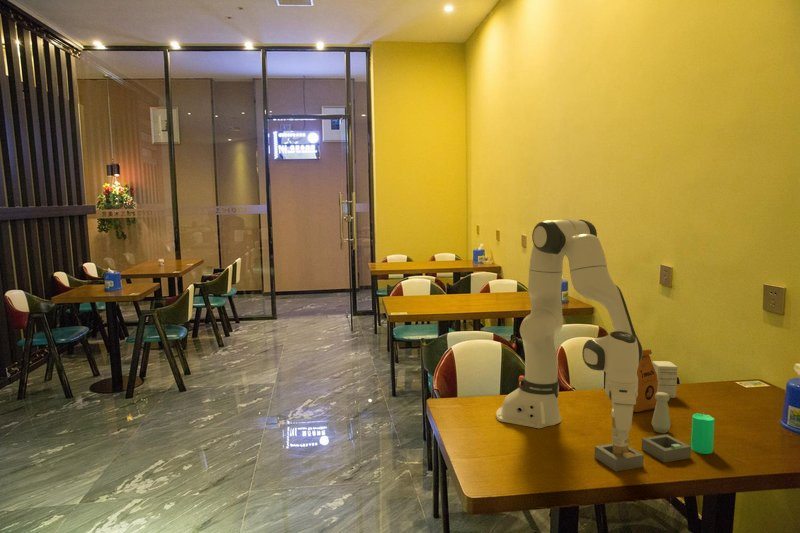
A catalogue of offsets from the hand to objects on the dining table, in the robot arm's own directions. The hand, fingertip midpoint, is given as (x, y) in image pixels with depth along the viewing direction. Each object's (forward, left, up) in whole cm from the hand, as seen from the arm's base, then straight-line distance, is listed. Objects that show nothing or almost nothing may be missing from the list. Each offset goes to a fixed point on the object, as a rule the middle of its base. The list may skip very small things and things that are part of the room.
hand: (620, 434), depth 165 cm
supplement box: (+21, +67, -9) cm, 71 cm away
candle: (+25, +16, -9) cm, 31 cm away
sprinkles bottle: (0, 0, -6) cm, 6 cm away
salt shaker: (+15, +28, -9) cm, 33 cm away
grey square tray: (+14, +10, -8) cm, 19 cm away
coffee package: (+10, +48, -9) cm, 50 cm away
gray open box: (0, 0, -8) cm, 8 cm away
